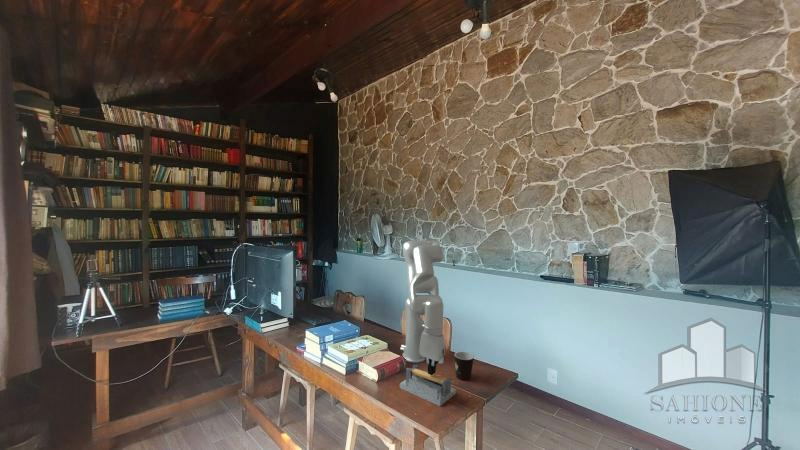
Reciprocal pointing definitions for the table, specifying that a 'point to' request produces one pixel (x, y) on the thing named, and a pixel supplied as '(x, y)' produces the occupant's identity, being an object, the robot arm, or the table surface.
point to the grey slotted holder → (427, 387)
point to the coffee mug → (463, 365)
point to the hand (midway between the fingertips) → (431, 373)
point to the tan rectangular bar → (427, 376)
